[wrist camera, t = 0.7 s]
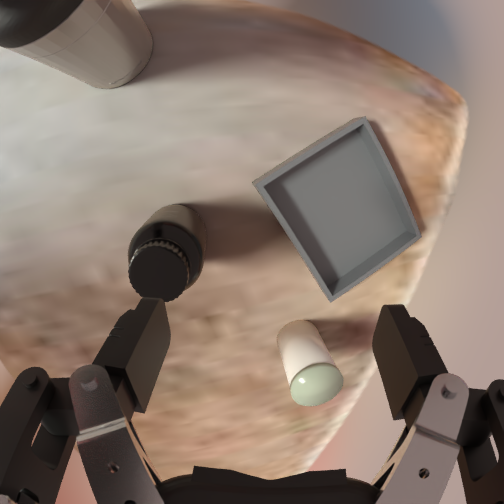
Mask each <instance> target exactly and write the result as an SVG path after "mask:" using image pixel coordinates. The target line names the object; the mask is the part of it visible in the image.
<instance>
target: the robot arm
mask: <svg viewBox="0 0 504 504" xmlns="http://www.w3.org/2000/svg"><path fill="white" fill-rule="evenodd" d="M0 46H1V47H4V48H6V49H9V50H12V51H14V52H17V53H19V54H21V55H24V56H27V57H29V58H32V59H34V60H36V61H39V62H41V63H43V64H46V65H48V66H50V67H52V68H55V69H57V70H59V71H61V72H64V73H66V74H68V75H70V76H72V77H74V78H76V79H78V80H81V81H83V82H85V83H87V84H89V85H91V86H93V87H96V88H101V89H110V88H115V87H119V86H121V85H123V84H126V83H127V82H129V81H130V80H132V79H134V78H135V77H136V76H137V75H138V74H139V73H140V72H141V71H142V70H143V68H144V67H145V66H146V64H147V62H148V60H149V59H150V56H151V53H152V47H153V41H152V36H151V33H150V31H149V29H148V28H147V26H146V24H145V23H144V21H143V19H142V17H141V16H140V14H139V12H138V11H137V9H136V7H135V6H134V4H133V3H132V1H131V0H0ZM170 337H171V334H170V327H169V322H168V317H167V312H166V307H165V302H164V300H163V299H160V298H147V297H143V298H142V299H141V300H140V302H139V304H138V305H137V307H136V309H135V310H131V309H130V310H128V311H127V312H126V313H124V314H123V315H122V316H121V317H120V318H119V319H118V321H117V322H116V324H115V326H114V329H112V331H111V332H110V334H109V337H107V339H106V341H105V342H104V344H103V346H102V348H101V349H100V351H99V353H98V354H97V356H96V358H95V360H94V361H93V363H92V364H91V365H85V366H82V367H80V368H78V369H77V370H76V371H75V372H73V374H72V375H71V377H70V378H50V377H49V375H48V374H47V372H46V371H45V370H44V369H42V368H40V367H31V368H28V369H26V370H24V371H23V372H21V373H20V374H19V376H18V377H17V379H16V380H15V382H14V384H13V385H12V387H11V389H10V391H9V392H8V394H7V396H6V397H5V399H4V401H3V403H2V404H1V406H0V504H55V502H56V498H57V495H58V492H59V488H60V485H61V482H62V479H63V476H64V473H65V470H66V467H67V464H68V461H69V459H70V456H71V453H72V450H73V447H74V445H75V442H76V441H77V445H78V449H79V452H80V456H81V459H82V462H83V465H84V468H85V471H86V474H87V477H88V480H89V483H90V485H91V488H92V491H93V493H94V496H95V499H96V501H97V504H439V502H440V499H441V497H442V495H443V492H444V490H445V488H446V485H447V483H448V480H449V478H450V475H451V473H452V470H453V468H454V465H455V462H456V459H457V461H458V465H459V469H460V473H461V478H462V482H463V487H464V492H465V497H466V502H467V504H504V380H500V379H499V380H495V381H493V382H492V383H491V384H490V386H489V387H488V389H487V390H482V389H472V388H468V386H467V384H466V383H465V382H464V380H462V379H461V378H460V377H458V376H456V375H454V374H450V373H448V371H447V369H446V367H445V365H444V363H443V361H442V359H441V357H440V355H439V353H438V351H437V349H436V347H435V345H433V344H434V343H433V341H432V340H431V338H430V337H429V334H428V332H427V330H426V328H425V326H424V325H423V324H422V323H421V322H420V321H418V320H417V319H416V318H415V317H410V315H409V314H408V312H407V310H406V308H405V306H404V305H402V304H398V305H383V307H382V309H381V312H380V315H379V319H378V322H377V326H376V329H375V332H374V336H373V342H372V347H373V353H374V356H375V359H376V362H377V365H378V369H379V372H380V375H381V378H382V381H383V385H384V388H385V392H386V395H387V399H388V402H389V406H390V409H391V413H392V417H393V420H399V419H405V422H406V425H405V427H404V428H403V430H402V432H401V434H400V436H399V438H398V440H397V442H396V443H395V445H394V447H393V449H392V451H391V453H390V455H389V456H388V458H387V460H386V462H385V463H384V465H383V466H382V468H381V470H380V471H379V473H378V474H377V475H376V477H375V478H374V479H373V481H372V482H371V484H369V483H367V482H364V481H361V480H357V479H353V478H348V477H346V469H339V470H327V471H326V470H325V471H309V472H305V473H301V474H297V475H293V476H289V477H284V478H280V479H275V480H266V479H262V478H258V477H254V476H251V475H247V474H243V473H240V472H237V471H233V470H227V469H216V468H208V467H199V466H194V469H193V474H187V475H182V476H177V477H174V478H170V479H168V480H165V481H162V479H161V477H160V476H159V474H158V472H157V471H156V469H155V467H154V466H153V464H152V462H151V460H150V458H149V456H148V454H147V452H146V450H145V448H144V446H143V444H142V442H141V440H140V438H139V436H138V433H137V431H136V429H135V427H134V425H133V422H132V420H131V418H132V415H133V413H134V411H135V412H140V413H145V411H146V408H147V405H148V402H149V400H150V397H151V394H152V391H153V388H154V386H155V383H156V380H157V377H158V375H159V372H160V369H161V367H162V364H163V361H164V358H165V356H166V353H167V350H168V348H169V345H170ZM40 423H41V427H40V429H39V431H38V433H37V436H36V438H35V440H34V443H33V445H32V447H31V444H32V440H33V437H34V435H35V433H36V431H37V428H38V426H39V424H40ZM491 435H493V438H494V440H495V443H496V447H497V450H498V453H499V460H498V463H497V460H496V457H495V454H494V451H493V447H492V445H491V441H490V438H489V437H490V436H491Z"/></svg>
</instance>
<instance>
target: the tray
mask: <svg viewBox="0 0 504 504" xmlns="http://www.w3.org/2000/svg"><path fill="white" fill-rule="evenodd" d="M252 183H253V185H254V186H255V188H256V189H257V191H258V192H259V193H260V195H261V196H262V198H263V199H264V201H265V202H266V204H267V206H268V207H269V209H270V210H271V212H272V213H273V215H274V216H275V218H276V219H277V221H278V222H279V224H280V225H281V227H282V228H283V230H284V231H285V233H286V235H287V236H288V238H289V239H290V241H291V242H292V244H293V245H294V247H295V248H296V250H297V252H298V253H299V255H300V256H301V258H302V259H303V261H304V263H305V264H306V266H307V267H308V269H309V271H310V272H311V274H312V275H313V277H314V278H315V280H316V282H317V283H318V285H319V287H320V288H321V290H322V291H323V293H324V294H325V296H326V297H327V298H328V300H329V301H330V303H331V302H332V301H334V300H335V299H337V298H338V297H340V296H341V295H343V294H344V293H346V292H347V291H348V290H350V289H351V288H353V287H354V286H356V285H357V284H359V283H360V282H361V281H363V280H364V279H366V278H367V277H369V276H370V275H371V274H373V273H374V272H376V271H377V270H378V269H380V268H381V267H383V266H384V265H385V264H387V263H388V262H389V261H391V260H392V259H393V258H395V257H396V256H397V255H399V254H400V253H401V252H403V251H404V250H405V249H407V248H408V247H409V246H411V245H412V244H413V243H415V242H416V241H417V240H418V239H420V238H421V237H422V236H421V233H420V231H419V228H418V226H417V223H416V221H415V218H414V216H413V213H412V211H411V208H410V206H409V204H408V201H407V199H406V197H405V194H404V192H403V190H402V188H401V185H400V183H399V181H398V179H397V177H396V175H395V172H394V170H393V168H392V166H391V164H390V162H389V160H388V158H387V156H386V154H385V152H384V150H383V148H382V146H381V144H380V142H379V140H378V139H377V137H376V135H375V133H374V131H373V129H372V128H371V126H370V124H369V122H368V120H367V119H366V117H365V116H364V117H359V118H355V119H353V120H351V121H349V122H347V123H346V124H344V125H342V126H341V127H339V128H337V129H336V130H334V131H332V132H331V133H329V134H327V135H326V136H324V137H322V138H321V139H319V140H317V141H316V142H314V143H313V144H311V145H309V146H308V147H306V148H305V149H303V150H301V151H300V152H298V153H297V154H295V155H293V156H292V157H290V158H289V159H287V160H285V161H284V162H282V163H281V164H279V165H278V166H276V167H275V168H273V169H271V170H270V171H268V172H267V173H265V174H264V175H262V176H261V177H259V178H258V179H256V180H255V181H253V182H252Z"/></svg>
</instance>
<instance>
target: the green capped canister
mask: <svg viewBox="0 0 504 504" xmlns="http://www.w3.org/2000/svg"><path fill="white" fill-rule="evenodd" d="M277 345H278V348H279V352H280V355H281V358H282V362H283V365H284V368H285V372H286V375H287V378H288V382H289V385H290V392H291V395H292V398H293V400H294V401H295V402H296V403H298V404H300V405H303V406H317V405H321V404H323V403H326V402H328V401H330V400H331V399H333V398H334V397H335V396H336V395H337V394H338V393H339V392H340V390H341V388H342V386H343V376H342V374H341V372H340V370H339V369H338V368H337V366H336V365H335V363H334V361H333V359H332V357H331V355H330V353H329V351H328V349H327V347H326V345H325V343H324V342H323V340H322V338H321V336H320V334H319V332H318V330H317V328H316V327H315V325H314V324H312V323H311V322H309V321H305V320H297V321H293V322H290V323H288V324H287V325H285V326H284V327H283V328H282V329H281V330H280V332H279V334H278V336H277Z"/></svg>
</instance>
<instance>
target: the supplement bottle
mask: <svg viewBox="0 0 504 504" xmlns="http://www.w3.org/2000/svg"><path fill="white" fill-rule="evenodd" d="M206 238H207V233H206V228H205V224H204V222H203V220H202V219H201V217H200V216H199V215H198V214H197V213H196V212H195V211H194V210H192V209H191V208H189V207H186V206H183V205H169V206H165V207H163V208H161V209H159V210H158V211H157V212H155V213H154V214H153V215H152V216H151V217H150V218H149V219H148V220H147V221H146V222H145V223H144V224H143V226H142V227H141V228H140V229H139V230H138V231H137V232H136V233H135V235H134V236H133V238H132V240H131V242H130V245H129V249H128V262H129V270H128V273H129V279H130V283H131V284H132V287H133V288H134V289H135V290H136V292H137V293H139V295H140V296H141V297H147V298H160V299H163V300H164V302H169V301H172V300H174V299H175V298H178V297H179V295H181V294H182V293H183V291H184V290H186V289H188V288H189V287H191V286H192V285H193V284H194V283H195V282H196V281H197V279H198V278H199V276H200V274H201V271H202V268H203V264H204V257H205V248H206Z"/></svg>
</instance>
